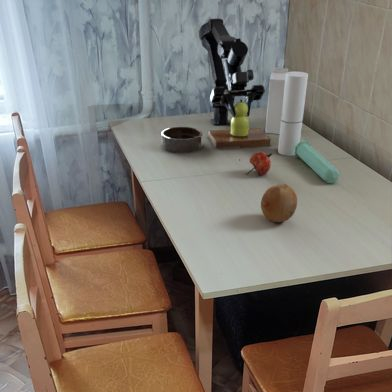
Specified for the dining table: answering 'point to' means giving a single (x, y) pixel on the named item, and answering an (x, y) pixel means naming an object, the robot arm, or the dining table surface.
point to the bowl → (181, 139)
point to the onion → (279, 203)
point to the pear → (240, 120)
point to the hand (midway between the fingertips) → (241, 116)
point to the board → (239, 138)
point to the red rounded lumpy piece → (260, 162)
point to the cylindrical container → (292, 112)
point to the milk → (275, 100)
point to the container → (316, 162)
